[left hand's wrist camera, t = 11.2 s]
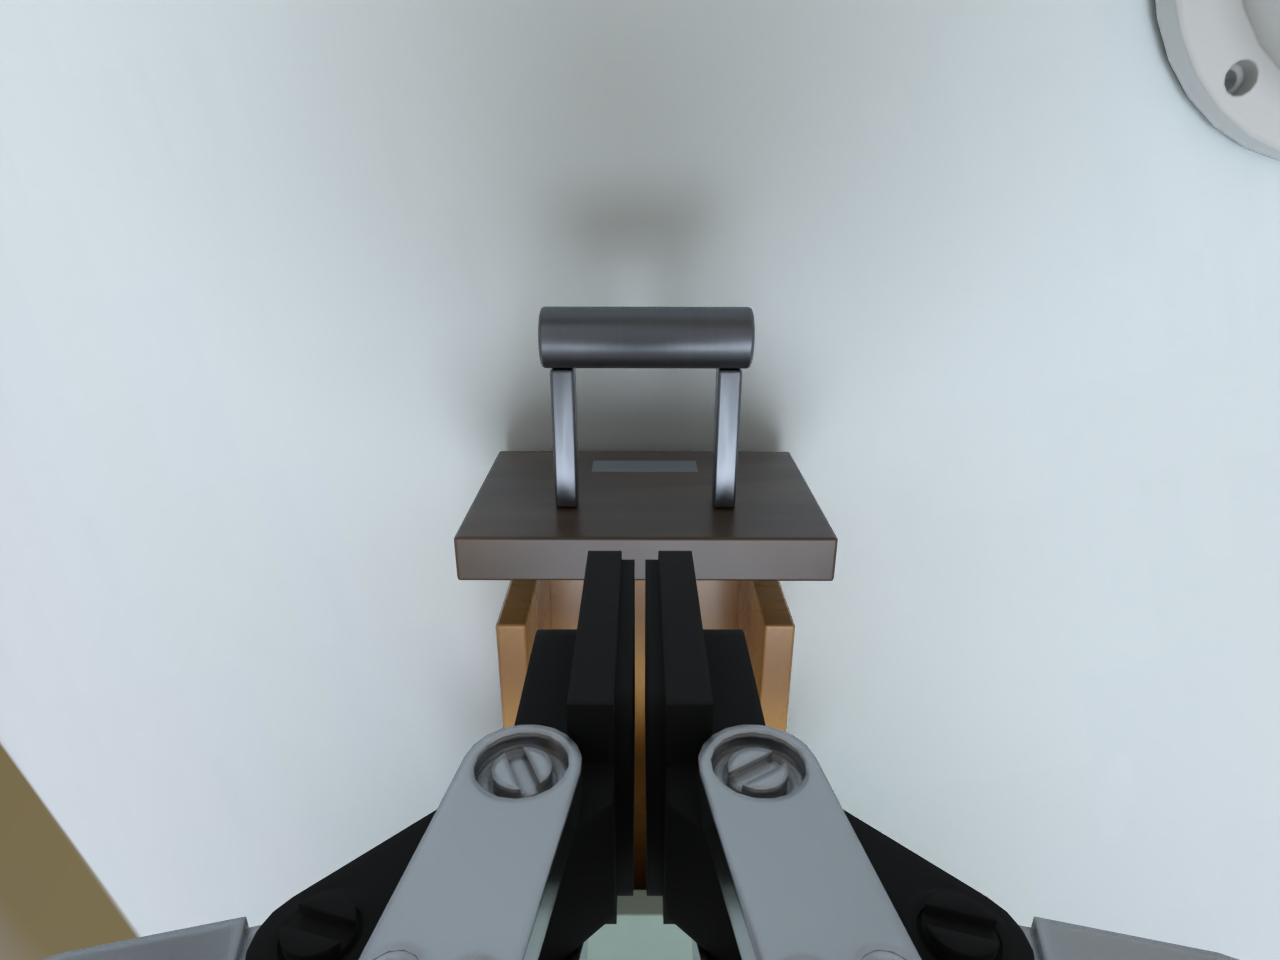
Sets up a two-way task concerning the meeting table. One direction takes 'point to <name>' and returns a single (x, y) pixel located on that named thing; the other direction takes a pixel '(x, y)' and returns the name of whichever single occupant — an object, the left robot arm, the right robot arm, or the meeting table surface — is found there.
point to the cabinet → (639, 933)
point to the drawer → (647, 511)
